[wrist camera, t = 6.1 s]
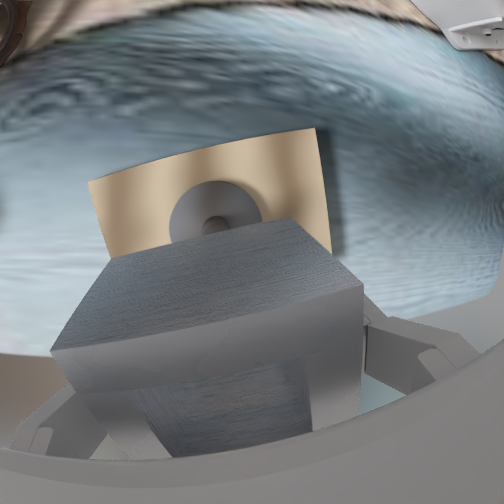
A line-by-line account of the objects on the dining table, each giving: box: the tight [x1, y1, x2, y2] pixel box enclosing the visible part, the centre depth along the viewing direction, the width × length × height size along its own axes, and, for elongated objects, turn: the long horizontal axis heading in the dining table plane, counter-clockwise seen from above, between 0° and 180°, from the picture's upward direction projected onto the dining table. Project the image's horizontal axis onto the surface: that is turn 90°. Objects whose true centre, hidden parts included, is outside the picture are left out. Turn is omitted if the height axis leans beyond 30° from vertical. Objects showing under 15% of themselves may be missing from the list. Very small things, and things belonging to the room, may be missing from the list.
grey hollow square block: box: [50, 216, 364, 460], centre depth 8 cm, size 6×6×5 cm
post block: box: [87, 128, 332, 259], centre depth 21 cm, size 18×12×8 cm, turn 101°
